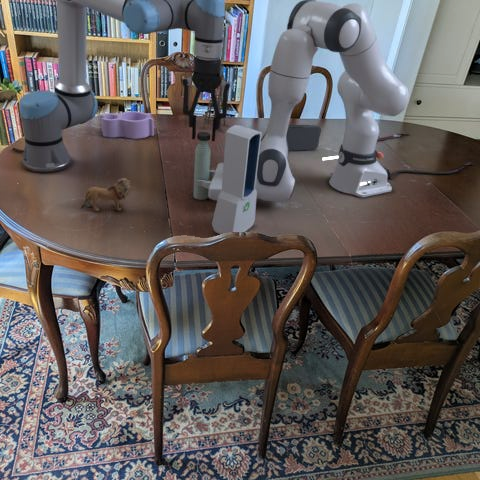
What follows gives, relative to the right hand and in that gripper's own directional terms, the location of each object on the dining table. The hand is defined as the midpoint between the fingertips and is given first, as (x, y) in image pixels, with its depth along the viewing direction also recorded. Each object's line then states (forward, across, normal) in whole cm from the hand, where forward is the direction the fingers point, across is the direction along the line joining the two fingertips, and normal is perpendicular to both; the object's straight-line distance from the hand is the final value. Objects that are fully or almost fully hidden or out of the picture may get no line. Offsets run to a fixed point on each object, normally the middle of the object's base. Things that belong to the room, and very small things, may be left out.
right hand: (198, 177), depth 147 cm
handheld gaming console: (-29, -50, +6) cm, 59 cm away
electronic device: (-14, +17, +6) cm, 23 cm away
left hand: (-1, 0, -13) cm, 13 cm away
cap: (-1, 0, -14) cm, 14 cm away
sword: (-74, -79, +6) cm, 108 cm away
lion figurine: (+24, +15, +6) cm, 29 cm away
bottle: (-1, 0, +6) cm, 7 cm away
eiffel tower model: (+5, -66, +6) cm, 66 cm away
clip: (+38, -45, +7) cm, 59 cm away
